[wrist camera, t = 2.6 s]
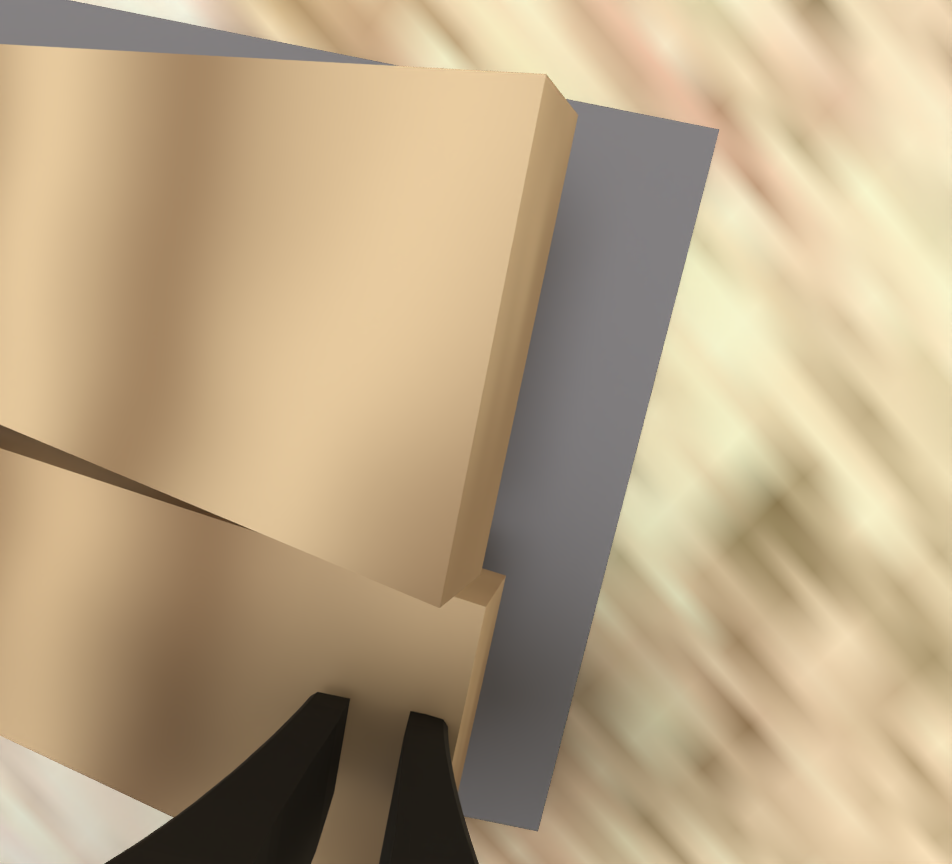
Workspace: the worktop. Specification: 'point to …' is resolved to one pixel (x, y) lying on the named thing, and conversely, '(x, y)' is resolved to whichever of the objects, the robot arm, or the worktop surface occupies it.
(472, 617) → the oak plank
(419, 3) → the worktop surface
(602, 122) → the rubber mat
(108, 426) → the oak plank
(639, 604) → the worktop surface
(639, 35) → the worktop surface
